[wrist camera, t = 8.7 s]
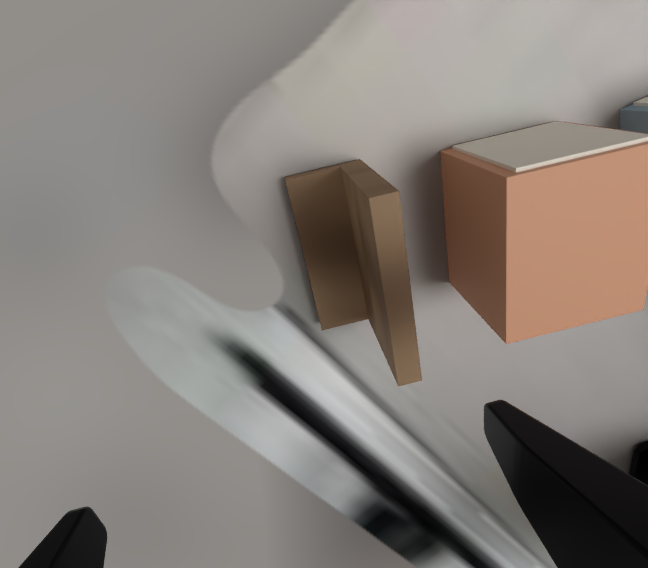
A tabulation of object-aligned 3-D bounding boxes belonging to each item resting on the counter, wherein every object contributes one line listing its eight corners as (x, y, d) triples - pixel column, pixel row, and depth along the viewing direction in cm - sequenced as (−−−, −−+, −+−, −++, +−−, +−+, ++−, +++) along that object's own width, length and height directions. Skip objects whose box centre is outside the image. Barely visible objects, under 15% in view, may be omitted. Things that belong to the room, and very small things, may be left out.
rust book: (554, 255, 23) (643, 309, 17) (448, 281, 23) (506, 344, 17) (562, 118, 19) (675, 133, 14) (439, 147, 19) (506, 173, 14)
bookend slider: (383, 308, 22) (421, 380, 17) (320, 324, 22) (338, 401, 17) (359, 159, 19) (398, 191, 13) (284, 177, 19) (293, 216, 13)
